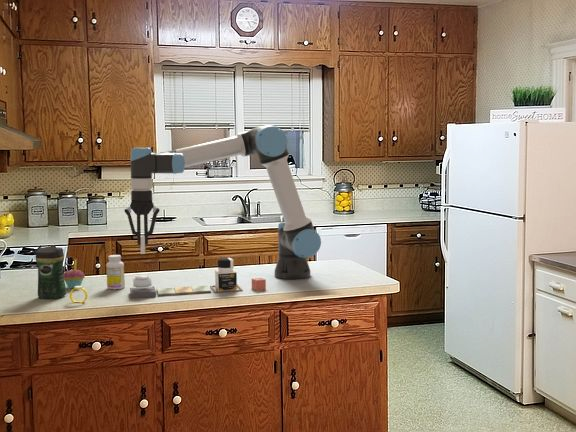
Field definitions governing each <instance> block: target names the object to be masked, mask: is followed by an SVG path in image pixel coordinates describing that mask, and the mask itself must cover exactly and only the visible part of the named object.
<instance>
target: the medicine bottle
mask: <svg viewBox="0 0 576 432" xmlns="http://www.w3.org/2000/svg"><path fill="white" fill-rule="evenodd" d="M234 268H235V267H234V259H233V258H231V257H221V258H219V259H217V269H214V278H215V279H214V281H215V283H214V284H215V285H214V286H215V287H214V288H215V289H217V290H216V291H229V290H238V287H237V284H238V282H237V281H238V277H237V275H238V274H237V273H238V272H237V271H236V270H235V269H234Z"/></svg>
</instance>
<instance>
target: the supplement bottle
mask: <svg viewBox="0 0 576 432" xmlns="http://www.w3.org/2000/svg"><path fill="white" fill-rule="evenodd" d="M107 257H108V262H107V263H106V264H105V267H106V285H107V287H106V288H107V289H108V290H111V289H114V290H113V291H115V290H116V289H118V290H121V289H124V288H125V285H126V284H125V264H124V262H123V261H122V260H121V259H122V256H121V254H110V255H108V256H107Z"/></svg>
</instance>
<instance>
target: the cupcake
mask: <svg viewBox="0 0 576 432" xmlns="http://www.w3.org/2000/svg"><path fill="white" fill-rule="evenodd" d="M77 261H78V260H77V259H74V266H73V267H74V269H68V270H67V271H63V274H64V281H65V285H66V288H68V289H69V288H74V287H75V286H82V283H83V281H84V279H85V277H86V276H85V273H84V272H83V271H82V270H80V269H77Z"/></svg>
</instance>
